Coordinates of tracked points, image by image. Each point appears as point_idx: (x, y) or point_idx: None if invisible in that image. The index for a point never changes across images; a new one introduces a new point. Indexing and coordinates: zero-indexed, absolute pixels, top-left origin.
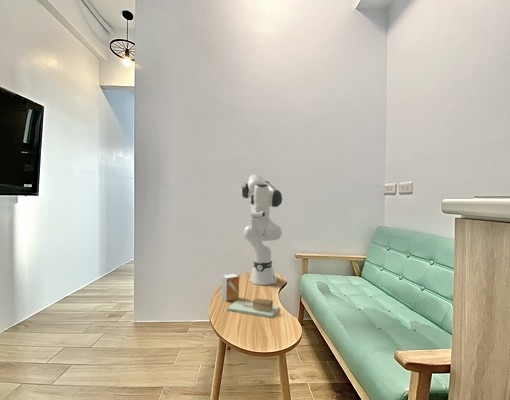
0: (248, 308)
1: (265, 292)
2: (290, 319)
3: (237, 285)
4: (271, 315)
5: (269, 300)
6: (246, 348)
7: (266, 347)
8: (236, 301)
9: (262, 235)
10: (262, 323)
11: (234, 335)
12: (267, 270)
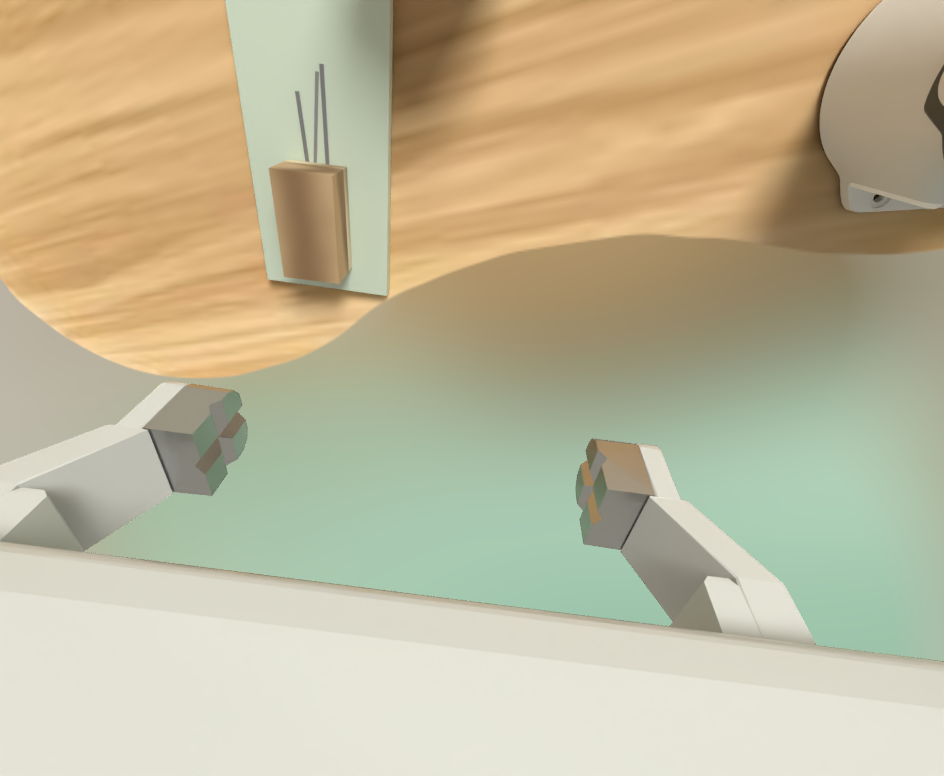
0: (286, 127)
1: (639, 166)
2: (295, 348)
3: None
4: (267, 274)
5: (326, 267)
6: None
7: (34, 292)
8: None
9: (598, 458)
10: (193, 241)
11: (4, 136)
12: (931, 161)
